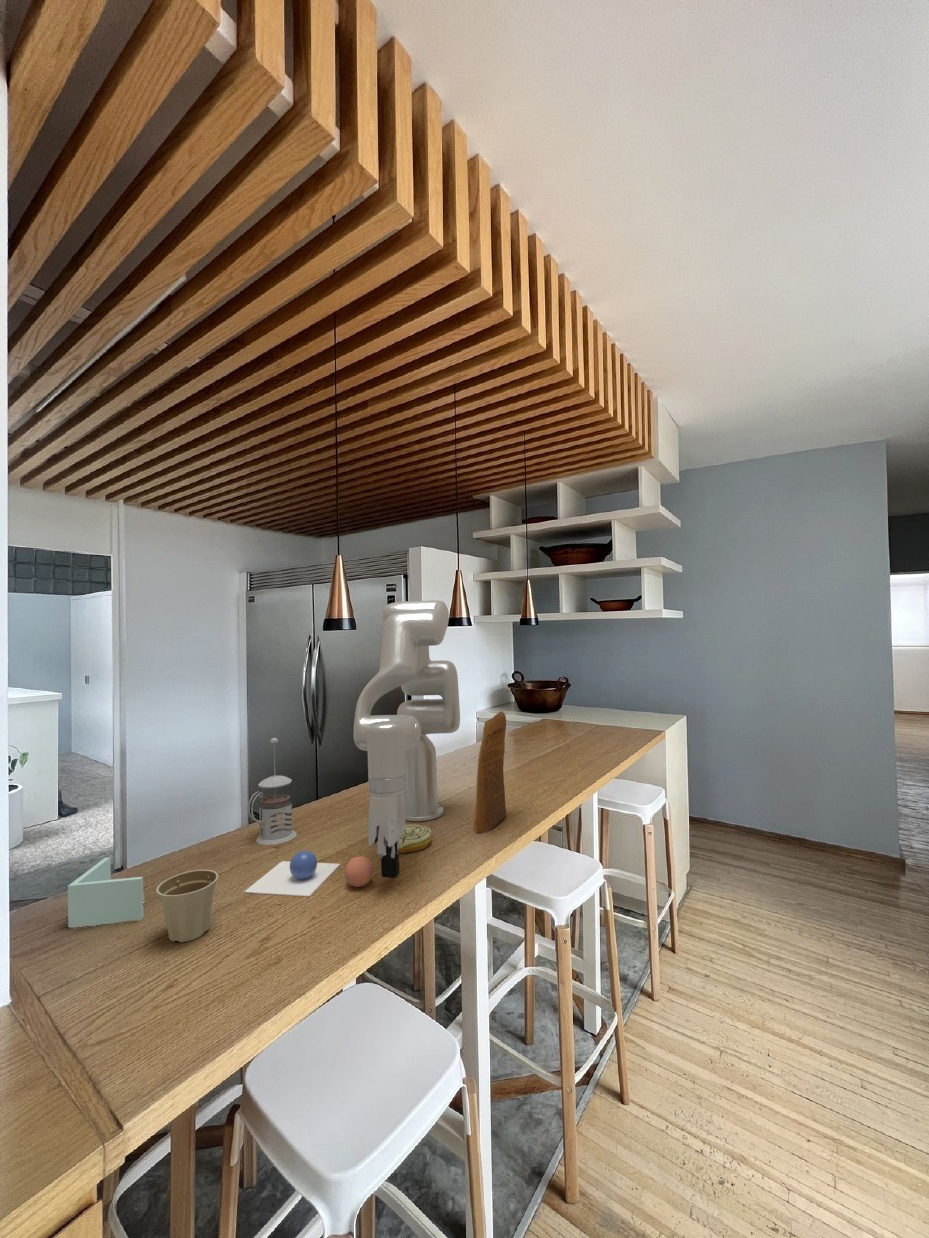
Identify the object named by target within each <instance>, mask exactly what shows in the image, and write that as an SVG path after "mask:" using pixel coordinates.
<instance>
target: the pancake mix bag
mask: <svg viewBox="0 0 929 1238" xmlns="http://www.w3.org/2000/svg"><path fill="white" fill-rule="evenodd" d="M483 723H484V726H483V731H482V735H481V743H480V747H479V752H478V758H477V768H476V769H477V773H476V791H475V792H476V800H475V806H474V807H475V808H474V814H473V815H474V817H473V831H475V834H479V832H482V833H487V831H488V832H491V831H492V830H493V829H495V827H497V825H499V824H500V823H501V822H502V821H503V820H504V819H506V818H507V809H506V807H507V806H506V793H505V780H504V779H505V778H504V761H505V760H504V758H505V747H506V745H505V743H506V742H505V739H506V731H507V718H506V714H505V713H504V712H503V710H501V711H499V712H497V713H496V714H495V715H494V716H493V717H491V718H489V719H488V720H485V721H484V722H483ZM500 821H501V822H500Z"/></svg>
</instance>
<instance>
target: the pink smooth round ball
mask: <svg viewBox="0 0 929 1238" xmlns="http://www.w3.org/2000/svg"><path fill="white" fill-rule="evenodd" d="M373 875H374V867H373V864H372V862H371V860H370V859H369V858H367V857H365V856H362V855H361V856H360V855H359V856H355V857H352V859H350V860H349V861H348V863H347V864H346V866H345V871H344V876H345V879H346V881H347V882H348V884H349V885H351V886H352V887H357V888H358V887H359V888H360V887H363V886H366V885H367V884H368V883H369V882H370V881H371V880H372V877H373Z"/></svg>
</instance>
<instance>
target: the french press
mask: <svg viewBox="0 0 929 1238" xmlns="http://www.w3.org/2000/svg"><path fill="white" fill-rule="evenodd" d="M278 742H279V740H278V738H277V737H273V738H271V739H269V743H270V744H273V766H274V767H273V770H274V771H273V772H274V774H273V775H271V776H268V777H267V778H266V777H265V778H264V779H263V780H261V781H260V782H259V783H258V784H257V785H258V788H260V789H264V790H265V789H274V794H271V795H270V794H269V795H267V796H264V793H263V792H260V791H259V790H258V791H256V792H255V793H253V794H252V796H251V798H250V799H249V802H248V805H247V809H248V811H247V812H248V815H249V817H250V819H252V820H253V821H255V822H257V823H258V824H259V834H258V836H257V838H256V839H257V840H256V839H255V842H256V843H257V842H258V843H257V844H260V845H266V846H267V845H268V846H270V845H279V844H282V843H287V842H289V841H292V840H293V839H295V838H296V837H297V834H298V833H297V832H296V831H295V830H294V829H293V804H292V803H293V802H292V800H290V799H291V796H290V794H283V793H280V794H279V793H278V794H276V792H277V790H276V789H278V788H282V787H285V786H289V785H290V784H291V783H292V781H293V779H291V778H290V777H288V776H285V775H276V755H275V753H276V751H275V744H276V743H278ZM257 797H259V798H260V802H261V803H262V804H260V805H259V819H256V818H255V815H254V813H253V806H254V803H255V800H256V799H257ZM253 798H254V799H253ZM252 799H253V800H252ZM251 801H252V803H251ZM250 804H252V805H251V808H250ZM267 807H271V808H274V809H271V808H267ZM264 808H265V809H264ZM250 810H251V811H250ZM276 814H278V815H276ZM280 814H281V815H280ZM278 819H281V820H278ZM282 819H284V820H282ZM279 824H284V825H279Z"/></svg>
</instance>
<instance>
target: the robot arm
mask: <svg viewBox="0 0 929 1238" xmlns="http://www.w3.org/2000/svg"><path fill="white" fill-rule="evenodd" d="M448 608H449V607H448V605H447V604H446V603H445V602H444V601H443V600H436V599H435V600H412V601H411V600H408V601H406V600H405V601H396V602H391V603H387V604H385V606H384V607H383V609H382V619H383V622H384V623H383V629H382V630H383V632H382V642H381V643H382V644H381V653H380V665H379V670H378V673H376V674H375V675H374V676H373V678H372V677H371V679H370V680H369V682H368V683H367V684H366V685H365V687H364V688H363V690H361V693H360V694H359V696H358V700H357V702H356V705H355V712H354V721H353V741H354V744H355V746H356V747H357V748H358V749H359V750H361V751H365V752H367V770H368V771H367V772H368V773H367V774H368V776H367V777H368V794H369V795H370V796H369V803H368V818H367V819H368V821H367V822H368V824H367V826H368V827H367V828H368V829H367V831H368V833H367V837H368V839H367V841H368V844H367V845H368V846H369V847H374V846H375V845H376V844H377V856H380V861H381V862H380V863H381V866H380V867H381V877H382V878H389V879H396V878H397V877H398V876H399V874H400V853H399V838H400V837H401V835H402V834H403V833H404V831H405V826H406V825H407V822H406V821H408V822H409V821H410V822H425V821H433V820H434V819H438V818H440V817H441V816H443V815H444V813H445V811H444V806H442V805H440V804H439V798H438V771H437V752H436V747H435V745H434V743H433V742H432V740H431V739H430V738H429V737H428V735H430V734H431V735H433V734H436V735H437V734H439V735H440V734H452V733H455V732H457V731H458V729H459V728H460V724H461V708H460V695H459V694H460V692H459V691H460V689H459V678H458V672H457V671H458V670H457V668H456V666H455V664H454V663H453V662H452V661H450V660H441V659H440V660H431V659H430V658H431V657H430V647H432V646H440V644H442V643H443V641H444V638H445V637H446V636H445V635H446V631H447V630H448V627H449V621H450V615H449V613H450V612H449V609H448ZM399 687H400V688H401V690H402V692H403V693H404V694H405V695H407V696H417V697H418V696H420V697H421V696H440V697H441V698H431V699H429V698H424V699H419V698H418V699H410V700H406V701H404V702H402V703H400V704H399V706H398V708H397V711H396V714H382V715H381V714H379V715H377V714H376V715H374V714H373V715H371V713H372V709H373V707H374V705H375V704H376V702H377V701H378V700H379V699H380V698H381V697H383V696H384V695H385V694H387V693H389V692H391V691H393V690H395V689H398V688H399Z"/></svg>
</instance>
